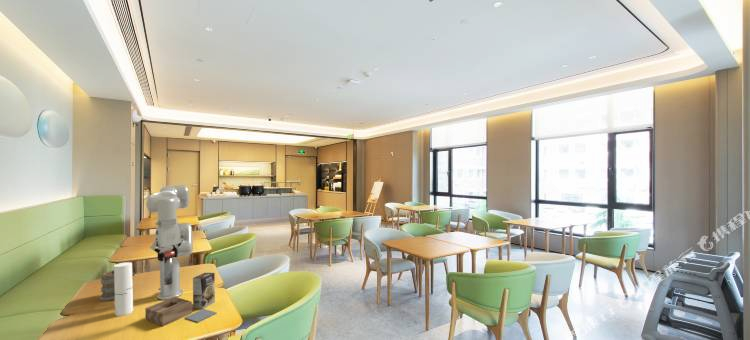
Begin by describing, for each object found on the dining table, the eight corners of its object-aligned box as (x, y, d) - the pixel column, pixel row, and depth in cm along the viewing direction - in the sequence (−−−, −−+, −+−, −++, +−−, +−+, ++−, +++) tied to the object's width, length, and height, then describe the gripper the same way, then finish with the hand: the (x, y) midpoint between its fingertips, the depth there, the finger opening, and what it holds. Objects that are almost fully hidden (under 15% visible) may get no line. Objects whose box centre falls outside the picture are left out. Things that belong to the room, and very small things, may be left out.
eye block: (145, 320, 149) (145, 308, 149) (174, 308, 162) (174, 296, 162) (162, 326, 143) (162, 313, 143) (191, 313, 156) (191, 301, 156)
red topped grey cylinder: (165, 286, 149) (165, 254, 148) (158, 284, 151) (157, 252, 151) (178, 282, 154) (177, 250, 154) (171, 280, 157) (170, 249, 156)
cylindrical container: (136, 310, 160) (135, 262, 159) (121, 316, 153) (120, 267, 153) (127, 308, 162) (126, 261, 162) (111, 314, 155) (110, 265, 155)
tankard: (94, 299, 174) (94, 273, 174) (118, 290, 186) (117, 266, 186) (121, 302, 169) (121, 275, 169) (144, 293, 182) (143, 268, 181)
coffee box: (203, 309, 160) (202, 278, 160) (192, 308, 162) (192, 277, 161) (215, 301, 169) (215, 272, 169) (205, 300, 170) (204, 271, 170)
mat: (184, 318, 151) (184, 317, 151) (203, 309, 160) (203, 308, 160) (197, 322, 146) (197, 321, 146) (216, 313, 155) (216, 312, 155)
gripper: (152, 226, 143) (153, 265, 143) (188, 220, 158) (189, 255, 159) (143, 225, 146) (144, 263, 146) (179, 219, 161) (180, 253, 162)
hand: (167, 258), depth 152 cm, fingers closed on red topped grey cylinder, 6 cm apart
